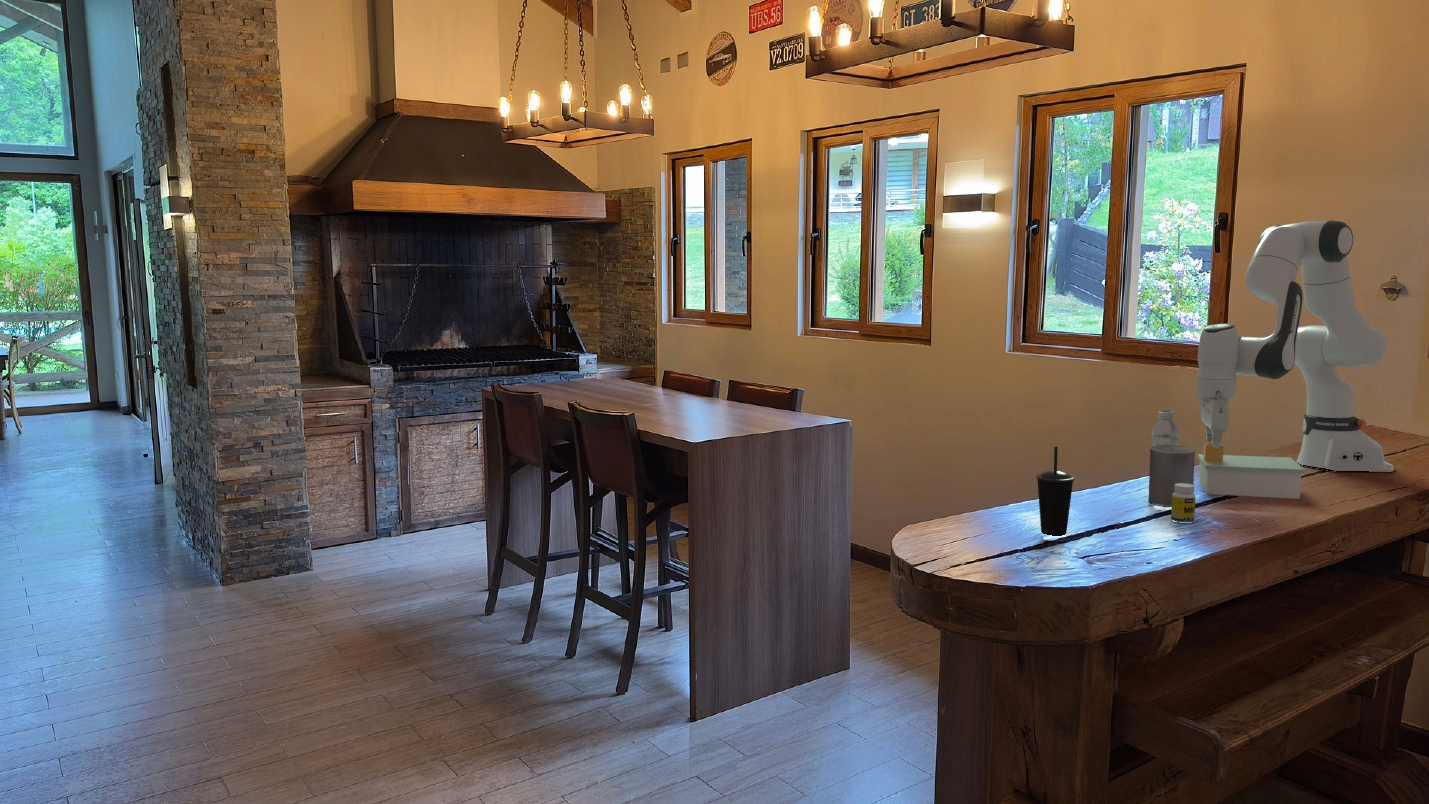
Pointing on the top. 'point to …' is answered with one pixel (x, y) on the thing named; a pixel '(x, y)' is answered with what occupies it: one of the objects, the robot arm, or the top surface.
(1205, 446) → the lid
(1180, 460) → the pillar candle
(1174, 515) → the supplement bottle
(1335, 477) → the top surface
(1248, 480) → the tub
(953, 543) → the top surface
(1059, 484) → the drinking cup
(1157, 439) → the plastic bottle
